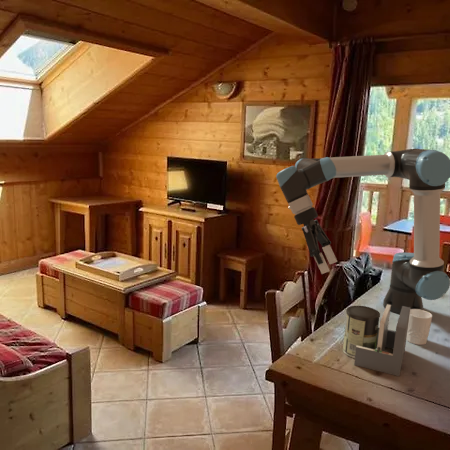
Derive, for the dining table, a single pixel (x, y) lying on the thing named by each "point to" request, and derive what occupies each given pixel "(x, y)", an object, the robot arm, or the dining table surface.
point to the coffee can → (360, 329)
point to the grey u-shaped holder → (394, 340)
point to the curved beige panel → (383, 329)
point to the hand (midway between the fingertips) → (329, 267)
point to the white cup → (418, 326)
